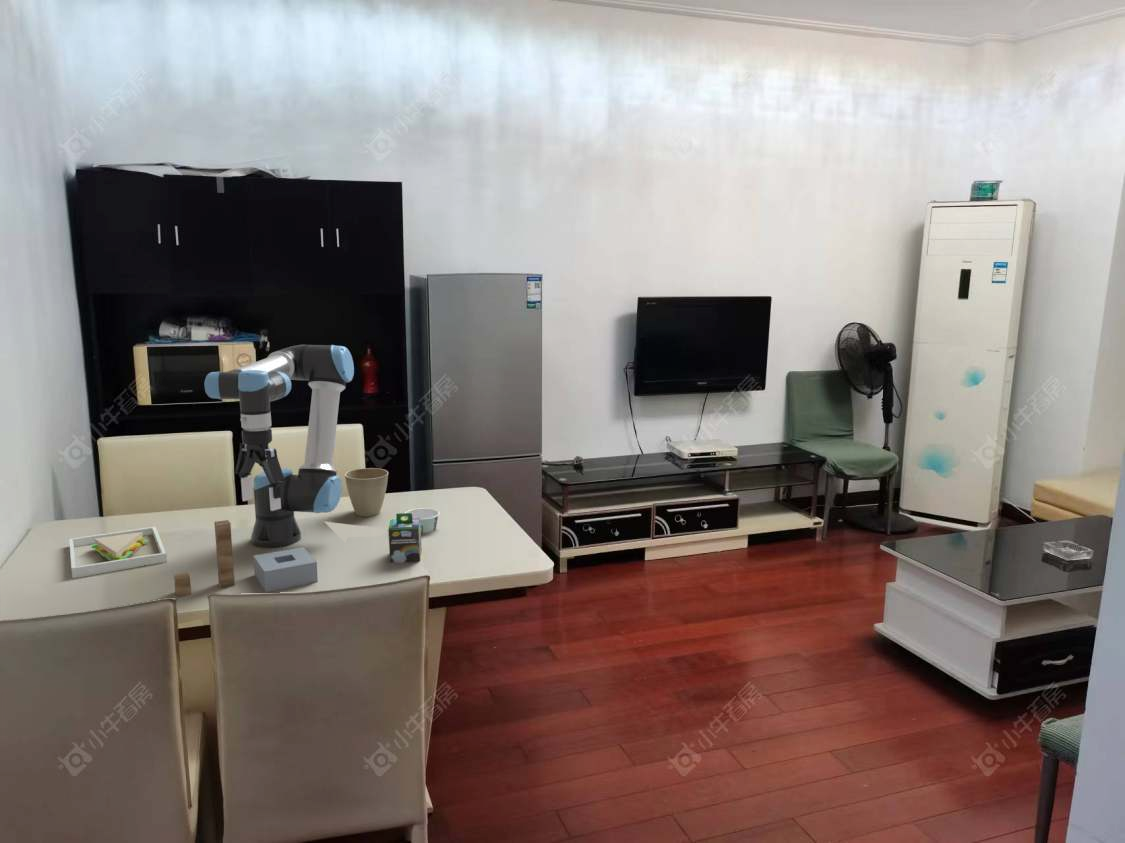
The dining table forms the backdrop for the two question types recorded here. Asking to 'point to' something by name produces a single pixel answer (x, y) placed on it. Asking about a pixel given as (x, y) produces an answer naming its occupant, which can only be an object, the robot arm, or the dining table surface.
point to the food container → (425, 518)
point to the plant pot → (367, 490)
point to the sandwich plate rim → (117, 564)
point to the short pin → (182, 584)
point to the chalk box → (405, 539)
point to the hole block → (285, 569)
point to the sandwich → (118, 545)
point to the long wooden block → (224, 553)
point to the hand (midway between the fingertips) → (261, 504)
